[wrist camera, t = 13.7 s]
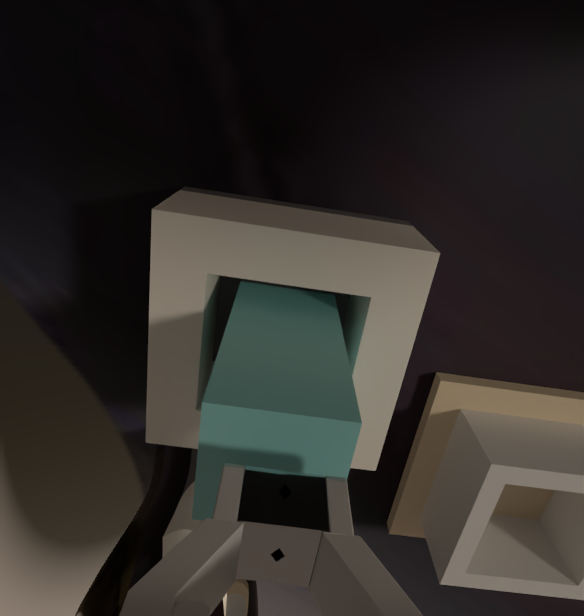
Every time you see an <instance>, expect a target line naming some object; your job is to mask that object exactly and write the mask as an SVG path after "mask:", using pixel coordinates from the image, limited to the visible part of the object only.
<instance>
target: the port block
mask: <svg viewBox="0 0 584 616" xmlns="http://www.w3.org/2000/svg"><path fill="white" fill-rule="evenodd" d="M439 256H440V252H439V251H438V250H437V249H436V248H435V247H434V246H433V245H432V244H431V243H429V242H428V241H427V240H426V239H425V238H424V237H423V236H422V235H421V234H420V233H419V232H418V231H417V230H416V229H415V228H414V227H413V226H412V225H411V224H410V223H409V222H408V221H405V220H398V219H392V218H385V217H379V216H373V215H366V214H360V213H353V212H347V211H341V210H334V209H328V208H321V207H315V206H308V205H302V204H296V203H289V202H283V201H276V200H270V199H263V198H257V197H251V196H244V195H238V194H231V193H225V192H218V191H212V190H206V189H199V188H193V187H186V186H185V187H183V188H182V189H181V190H179V191H178V192H176V193H175V194H173V195H172V196H170V197H169V198H167V199H166V200H164V201H163V202H162V203H160V204H159V205H157V206H156V207H154V208H153V209H152V220H151V257H150V295H149V333H148V371H147V408H146V443H153V444H161V445H169V446H177V447H185V448H193V449H198V442H199V431H200V419H201V408H202V401H203V398H204V395H205V391H206V388H207V385H208V382H209V379H210V376H211V373H212V369H213V366H214V363H215V360H216V357H217V354H218V351H219V348H220V344H221V341H222V338H223V335H224V332H225V329H226V326H227V323H228V319H229V316H230V313H231V310H232V307H233V304H234V301H235V298H236V294H237V291H238V288H239V285H240V282H241V279H248V280H255V281H262V282H269V283H276V284H283V285H290V286H296V287H303V288H310V289H317V290H324V291H331V292H334V295H335V299H336V304H337V309H338V313H339V318H340V323H341V327H342V332H343V337H344V341H345V346H346V350H347V355H348V360H349V364H350V369H351V374H352V378H353V383H354V388H355V392H356V397H357V402H358V406H359V411H360V416H361V420H362V425H361V429H360V433H359V437H358V440H357V444H356V448H355V452H354V455H353V459H352V463H351V466H350V468H355V469H363V470H372V471H376V468H377V465H378V461H379V458H380V455H381V451H382V448H383V444H384V441H385V438H386V434H387V431H388V428H389V424H390V421H391V418H392V414H393V411H394V407H395V404H396V401H397V397H398V394H399V391H400V387H401V384H402V381H403V377H404V374H405V370H406V367H407V364H408V360H409V357H410V354H411V350H412V347H413V343H414V340H415V337H416V333H417V330H418V327H419V323H420V320H421V317H422V313H423V310H424V306H425V303H426V300H427V296H428V293H429V290H430V286H431V283H432V280H433V276H434V273H435V269H436V266H437V263H438V259H439Z"/></svg>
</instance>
